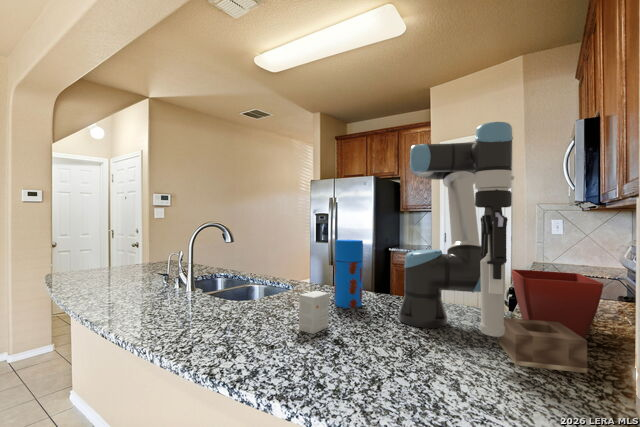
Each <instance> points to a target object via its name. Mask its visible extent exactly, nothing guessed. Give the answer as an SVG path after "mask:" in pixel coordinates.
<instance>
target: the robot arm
mask: <svg viewBox="0 0 640 427" xmlns="http://www.w3.org/2000/svg"><path fill="white" fill-rule="evenodd" d="M512 128H513V127H512V125H511V124H510V123H509V122H506V121H505V122H504V121H492V122H486V123H482V124H480V125H479V126H477V127H476V129H475V136H474V139H475V140H474V141H475V142H453V143H452V142H451V143H421V144H413V145H411V147H410V152H409V154H410V155H409V158H410V159H409V169H410V171H411V173H412V174H414V176H416V177H419V178H423V179H427V180H433V181H434V180H436V181H437V180H439V181H440V180H442V184H443V186H445V188H447V196H448V197H447V200H448V211H449V225H450V238H451V239H450V242H451V245H450V246H449V248H447V251H446V252H447V253H443V251H442V249H440V248H439V249H437V248H434V249H431V248H430V249H428V248H427V249H420V250H419V249H418V250H412V251H409V252H408V253H406V255H405V257H404V265H403V268H404V296H403V298H402V302H401V305H400V309H399V311H398V320H399V321H400V322H401V323H403V324H405V325H408V326H412V327H417V328H426V329H431V328H432V329H436V328H442V327H446V326H447V325H448V315H447V312H446V309H445V306H444V302H443V300H442V291H451V292H468V293H470V292H471V293H481V271H480V261H481V260H482V259H483V258H484V257H486V254H487V253H488V235H489V245H490V261H487V264H489V293H492V294H503V265H504V263H505V264H506V263H507V260H508V259H507V226H508V217H507V216H505V215H504V214H503V208H511V206H513V204H512V199H513V198H512V196H513V195H512V194H513V193H512V191H510V190H511V188H512V181H513V180H514V179H515V176H514V175H512V171H513V169H512V167H513V139H514V138H513V132H512V130H513V129H512ZM474 189H475V190H477V191H476V192H475V190H474ZM509 189H510V190H509ZM476 208H484V211H483V212H484V214H483V215H482V216H480V231H481V232H480V235H479V227H478V225H479V224H478V218H477V209H476Z"/></svg>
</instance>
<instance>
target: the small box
mask: <svg viewBox="0 0 640 427" xmlns="http://www.w3.org/2000/svg"><path fill="white" fill-rule="evenodd" d="M298 298H299V303H298V304H299V305H298V306H299V307H298V308H299V312H298V314H299V315H298V330H299V331H300V332H303V333H308V334H310V335H311V334H312V335H314V334H316V333H319V332H321V331H323V330H325V329H327V328H329V320H330V319H329V318H330V316H329V315H330V311H329V310H330V293H329V292H324V291H319V290H312V291H309V292H305V293H303V294H299V296H298Z"/></svg>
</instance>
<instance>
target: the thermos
mask: <svg viewBox="0 0 640 427" xmlns="http://www.w3.org/2000/svg"><path fill="white" fill-rule="evenodd" d="M363 265H364V241H363V240H361V239H335V244H334V305H335V306H336V307H339V308H344V309H357V308H360V307H362V305H363V289H364V288H363V286H364V284H363V283H364V282H363V281H364V280H363V279H364V278H363V275H364V273H363V272H364V266H363Z"/></svg>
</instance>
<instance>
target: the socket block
mask: <svg viewBox="0 0 640 427" xmlns="http://www.w3.org/2000/svg"><path fill="white" fill-rule="evenodd" d="M504 326H505V333H504V335H503V336H500V337H498V344H499V346H500V347H501V348H502V349H503V351H504V352H505V353H506V355H507V356H508V357H509V359H510V360H511V362H513V364H514V365H515V366H519V367H530V368H536V369H537V368H538V369H545V370H546V369H547V370H557V371H565V372H566V371H567V372H574V373H583V374H588V340H587V339H585V338H582V337H581V336H579V335H578V334H576V333H574V332H573V331H571V330H570V329H568V328H567V327H565V326H564V325H562V324H561V323H559V322H551V321H538V320H526V319H523V318H511V317H510V318H509V317H504Z"/></svg>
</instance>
